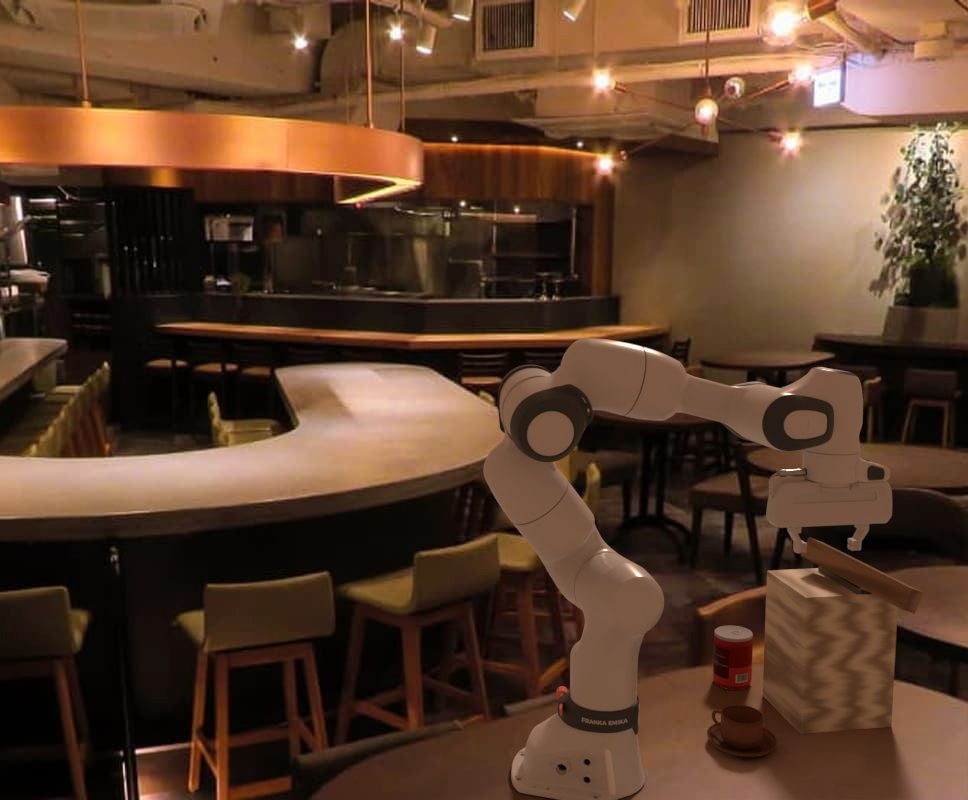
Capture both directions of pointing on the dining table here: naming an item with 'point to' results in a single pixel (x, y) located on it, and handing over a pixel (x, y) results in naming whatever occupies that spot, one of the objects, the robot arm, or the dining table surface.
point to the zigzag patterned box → (828, 652)
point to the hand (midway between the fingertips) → (827, 551)
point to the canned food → (732, 657)
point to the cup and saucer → (741, 732)
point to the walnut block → (863, 575)
